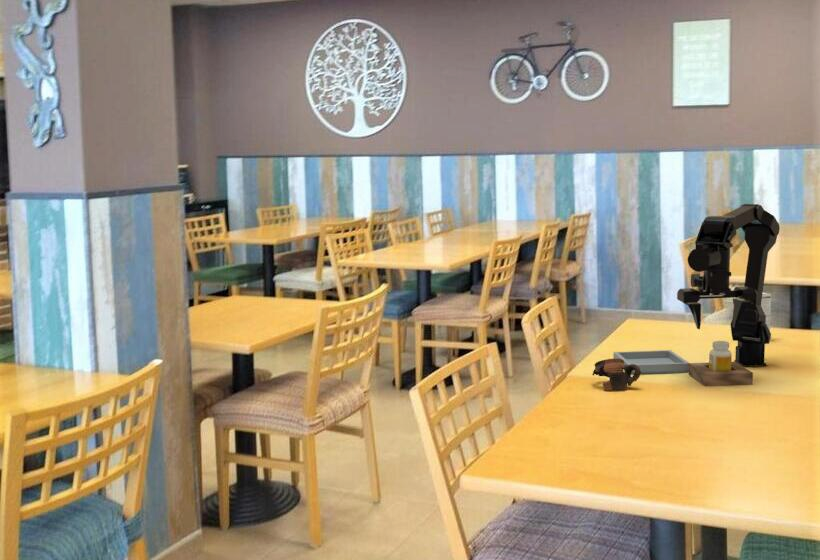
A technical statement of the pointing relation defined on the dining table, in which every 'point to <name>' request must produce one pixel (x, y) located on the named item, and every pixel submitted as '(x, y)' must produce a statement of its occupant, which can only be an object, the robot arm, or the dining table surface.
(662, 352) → the tray
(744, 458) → the dining table surface
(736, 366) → the sleeve block
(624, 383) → the pottery mug
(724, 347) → the supplement bottle
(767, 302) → the syrup box
